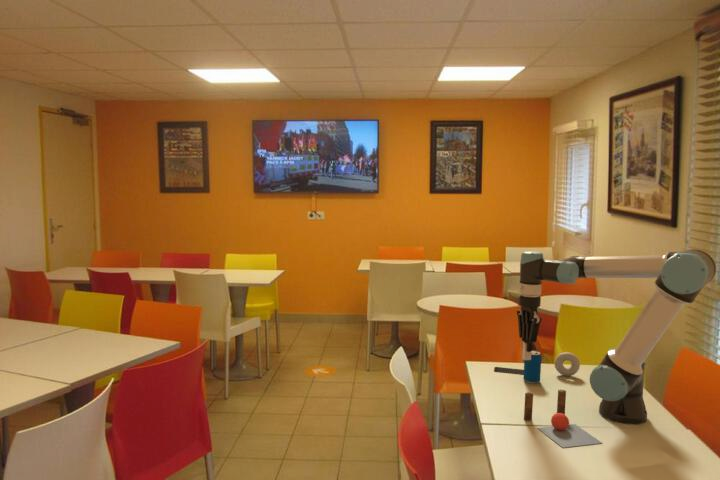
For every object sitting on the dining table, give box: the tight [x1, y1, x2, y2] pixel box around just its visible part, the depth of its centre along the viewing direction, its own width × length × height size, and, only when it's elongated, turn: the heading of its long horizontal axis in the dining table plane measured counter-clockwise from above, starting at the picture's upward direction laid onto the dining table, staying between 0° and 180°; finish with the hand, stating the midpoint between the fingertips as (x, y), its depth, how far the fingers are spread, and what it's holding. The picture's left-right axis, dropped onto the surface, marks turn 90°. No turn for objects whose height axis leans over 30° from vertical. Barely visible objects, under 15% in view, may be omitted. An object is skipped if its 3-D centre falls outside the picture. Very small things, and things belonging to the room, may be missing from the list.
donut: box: [554, 351, 581, 377], centre depth 239 cm, size 10×4×10 cm, turn 75°
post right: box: [556, 389, 567, 415], centre depth 198 cm, size 3×3×9 cm
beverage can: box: [523, 349, 542, 385], centre depth 231 cm, size 6×6×12 cm
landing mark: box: [537, 423, 603, 449], centre depth 183 cm, size 14×14×1 cm
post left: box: [523, 391, 534, 422], centre depth 194 cm, size 3×3×9 cm
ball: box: [550, 412, 570, 431], centre depth 187 cm, size 6×6×6 cm
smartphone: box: [493, 366, 524, 376], centre depth 244 cm, size 7×1×14 cm
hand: (526, 359), depth 207 cm, fingers closed
